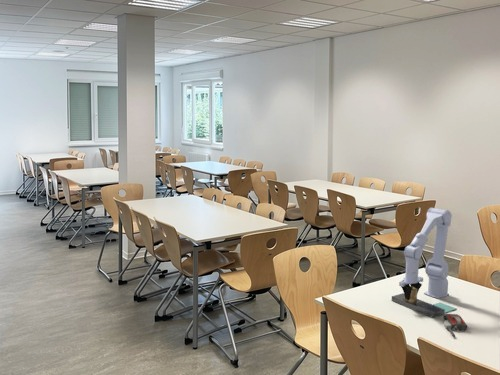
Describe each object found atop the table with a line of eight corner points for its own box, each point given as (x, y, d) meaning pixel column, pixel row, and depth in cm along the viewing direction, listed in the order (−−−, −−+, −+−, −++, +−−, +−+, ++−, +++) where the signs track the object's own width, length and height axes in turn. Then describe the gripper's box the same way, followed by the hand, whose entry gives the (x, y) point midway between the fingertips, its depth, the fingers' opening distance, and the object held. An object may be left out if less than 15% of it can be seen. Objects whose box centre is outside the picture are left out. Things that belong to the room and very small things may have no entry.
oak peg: (409, 302, 236) (410, 286, 234) (416, 304, 232) (417, 288, 231) (404, 303, 233) (404, 287, 232) (410, 306, 230) (411, 290, 229)
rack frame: (402, 297, 242) (403, 293, 241) (444, 314, 221) (444, 309, 221) (391, 300, 237) (391, 296, 237) (432, 317, 217) (433, 312, 217)
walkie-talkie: (438, 318, 217) (451, 338, 198) (438, 309, 217) (451, 328, 197) (459, 319, 216) (473, 340, 197) (459, 310, 216) (474, 329, 196)
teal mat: (440, 303, 234) (440, 302, 234) (456, 309, 227) (456, 308, 227) (427, 306, 230) (427, 306, 230) (444, 313, 222) (444, 312, 222)
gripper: (415, 266, 238) (414, 292, 239) (394, 271, 230) (393, 298, 232) (427, 270, 232) (425, 297, 234) (406, 275, 224) (405, 303, 226)
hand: (410, 298), depth 232 cm, fingers closed on oak peg, 4 cm apart
